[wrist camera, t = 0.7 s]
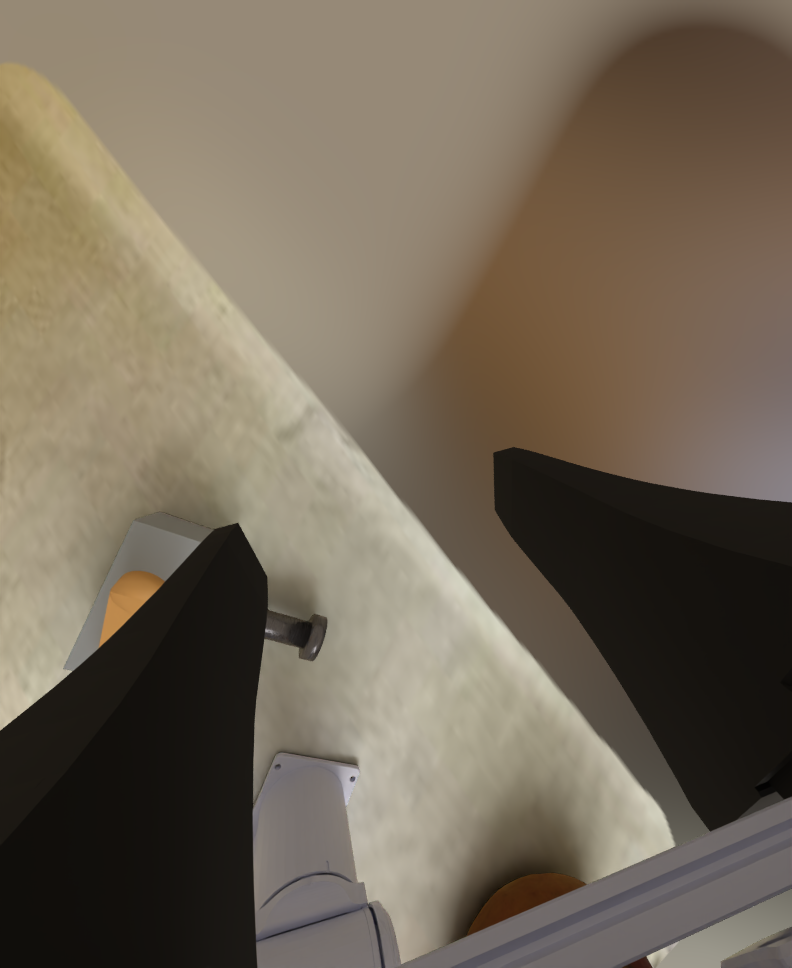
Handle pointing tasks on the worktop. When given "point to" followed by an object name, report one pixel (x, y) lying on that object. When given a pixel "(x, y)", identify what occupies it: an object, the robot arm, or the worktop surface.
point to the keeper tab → (127, 599)
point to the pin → (297, 633)
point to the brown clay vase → (530, 901)
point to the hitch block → (139, 568)
